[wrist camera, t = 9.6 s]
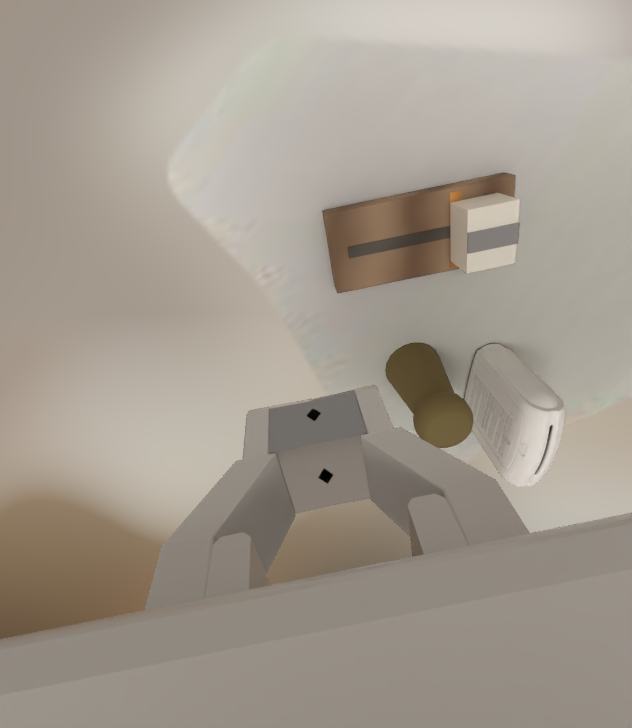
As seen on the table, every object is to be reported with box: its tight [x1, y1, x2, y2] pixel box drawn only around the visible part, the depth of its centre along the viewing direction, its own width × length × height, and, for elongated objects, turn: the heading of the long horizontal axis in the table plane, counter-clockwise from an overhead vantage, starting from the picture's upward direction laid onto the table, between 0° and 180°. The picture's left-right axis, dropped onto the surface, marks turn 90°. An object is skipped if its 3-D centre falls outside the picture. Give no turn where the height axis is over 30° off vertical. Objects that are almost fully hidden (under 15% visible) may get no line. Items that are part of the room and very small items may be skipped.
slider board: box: [322, 173, 516, 293], centre depth 36 cm, size 16×7×2 cm, turn 99°
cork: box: [386, 343, 474, 448], centre depth 40 cm, size 6×6×11 cm
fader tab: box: [450, 193, 520, 273], centre depth 33 cm, size 4×5×4 cm
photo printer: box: [464, 344, 565, 487], centre depth 41 cm, size 10×4×12 cm, turn 0°
